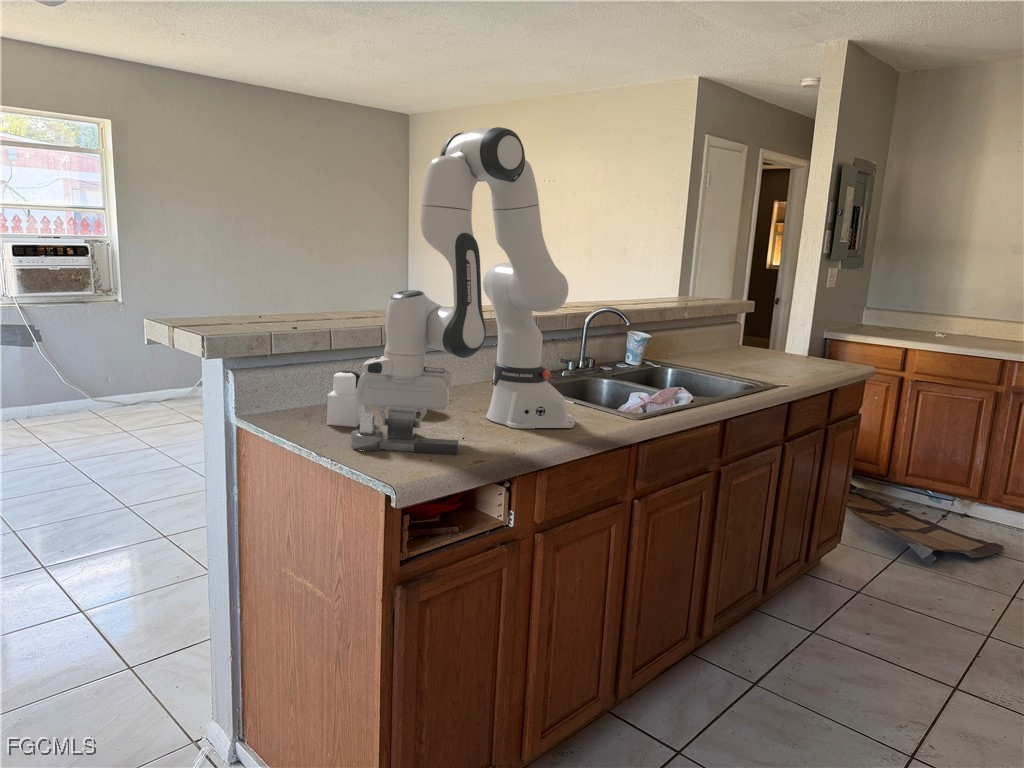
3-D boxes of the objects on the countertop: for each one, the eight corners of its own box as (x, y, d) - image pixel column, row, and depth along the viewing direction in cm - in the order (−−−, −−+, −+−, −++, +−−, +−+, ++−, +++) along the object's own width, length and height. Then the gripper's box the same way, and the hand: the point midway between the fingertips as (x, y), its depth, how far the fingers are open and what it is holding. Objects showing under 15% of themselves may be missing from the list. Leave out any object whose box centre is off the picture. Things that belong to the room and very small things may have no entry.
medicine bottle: (334, 417, 164) (335, 368, 162) (364, 419, 164) (366, 370, 162) (325, 425, 157) (326, 373, 155) (356, 427, 157) (358, 376, 155)
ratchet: (458, 448, 147) (460, 416, 146) (456, 457, 141) (458, 424, 140) (353, 441, 146) (354, 409, 145) (347, 450, 140) (348, 417, 139)
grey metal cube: (415, 432, 156) (416, 407, 155) (412, 439, 151) (413, 413, 150) (390, 431, 156) (391, 405, 155) (387, 438, 151) (388, 411, 149)
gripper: (452, 365, 154) (449, 425, 157) (360, 359, 153) (358, 419, 156) (451, 371, 148) (447, 433, 150) (355, 364, 147) (353, 427, 149)
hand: (401, 426), depth 153 cm, fingers closed on grey metal cube, 5 cm apart
